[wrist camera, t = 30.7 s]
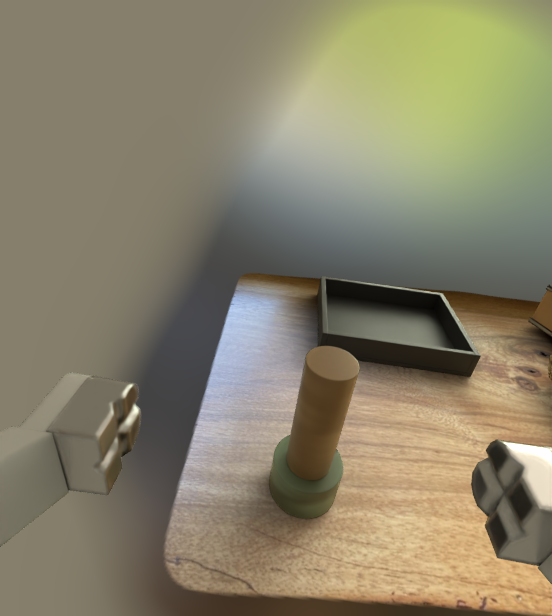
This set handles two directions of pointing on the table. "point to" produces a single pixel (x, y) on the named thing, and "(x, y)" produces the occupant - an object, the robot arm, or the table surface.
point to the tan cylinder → (315, 435)
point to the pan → (394, 326)
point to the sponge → (550, 367)
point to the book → (544, 313)
